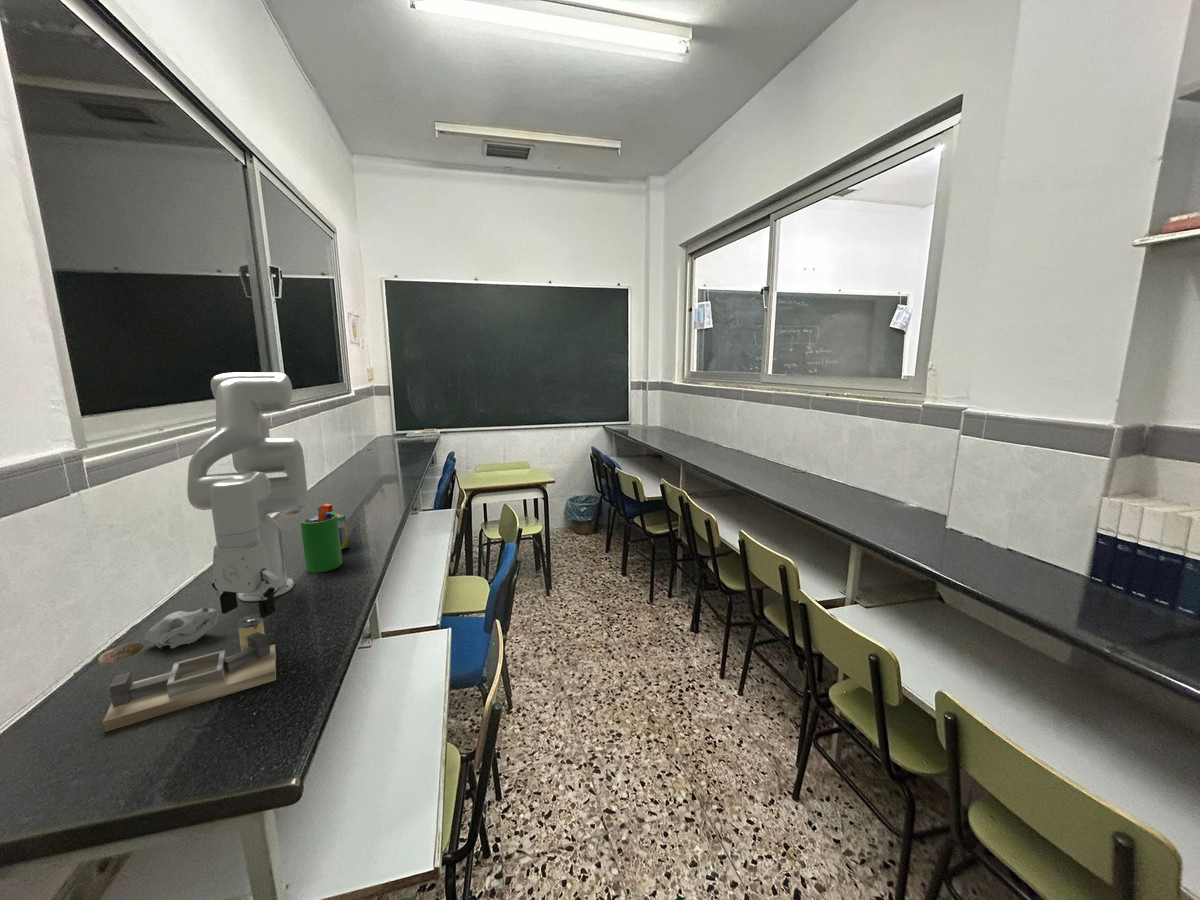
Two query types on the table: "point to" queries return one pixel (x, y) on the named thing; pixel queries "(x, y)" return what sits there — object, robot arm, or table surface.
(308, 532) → the green cylindrical cup
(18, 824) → the table surface
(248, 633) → the gold cylinder
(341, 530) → the chalk box
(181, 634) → the skull
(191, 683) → the stand
